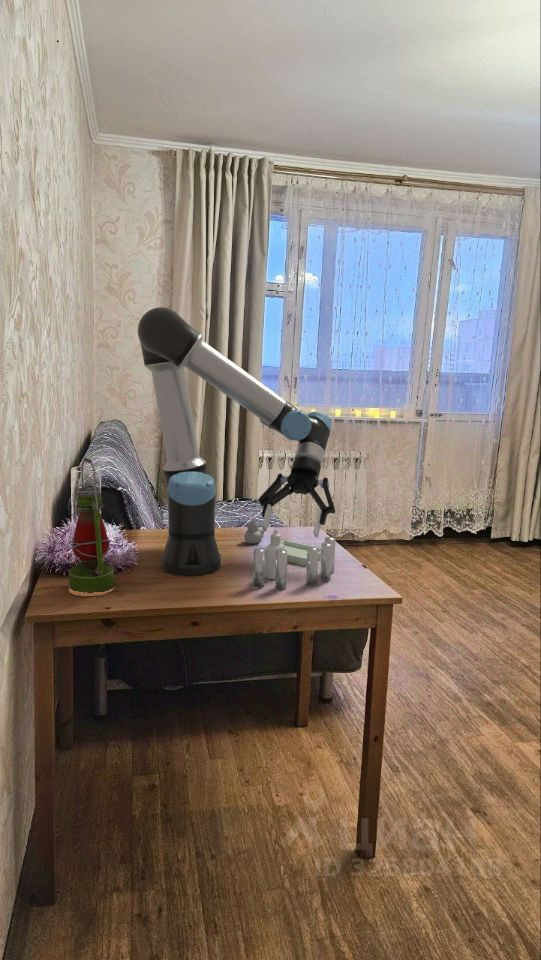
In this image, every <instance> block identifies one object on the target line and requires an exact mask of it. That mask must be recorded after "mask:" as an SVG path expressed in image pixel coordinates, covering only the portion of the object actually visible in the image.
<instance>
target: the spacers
mask: <svg viewBox="0 0 541 960" xmlns="http://www.w3.org/2000/svg"><path fill="white" fill-rule="evenodd" d="M317 547H318V546H315V547H308V548H307V566H306V570H305V571H306V574H305V576H306V577H305V585H306V586H307V587H316V586H317V585H318V569H319V568H318V567H319V565H318V564H319V563H318V548H317ZM263 548H264V547H263ZM263 548H262V547H255V548H254V549H253V568H252V569H253V573H252V574H253V579H252V587H253V586H254V587H257V588H256V589H262V588H261V587H263V588H265V549H263ZM321 548H322V549H321V560H320V571H319V572H320V574H319V575H320V577H319V579H320V581H322V582H331V581H332V575H333V574H334V573H335V559H336V558H335V555H336V537H334V536H326V537H324V542H322V543H321ZM287 571H288V562H287V550H277V551H276V575H275V579H274V581H275V582H274V583H275V584H274V585H275V586H274V589H275V588H276V589H275V590H277V589H278V590H277V591H285V590H287V574H288V572H287ZM254 587H253V588H254Z"/></svg>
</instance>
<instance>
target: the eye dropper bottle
mask: <svg viewBox="0 0 541 960" xmlns="http://www.w3.org/2000/svg"><path fill="white" fill-rule="evenodd" d="M281 536H282V534H280V533H279V532H278V528H274V530H273V533H271V534H270V543H269V544H268V545H267V546H266V547H267V548H266V547H265V548H266V553H265V574H264V579H268V580H271V579H273V580H275V575H276V551H277V550H285V546H284V545H283V544H281V543H280V542H281V541H282V540H281V538H282V537H281Z"/></svg>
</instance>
